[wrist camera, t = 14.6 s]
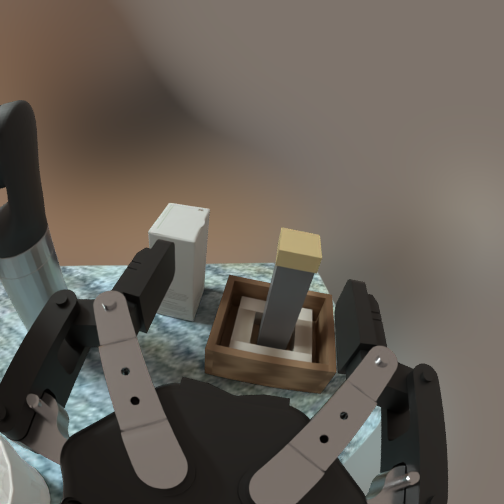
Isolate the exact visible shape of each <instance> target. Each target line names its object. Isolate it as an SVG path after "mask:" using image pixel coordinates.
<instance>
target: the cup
mask: <svg viewBox="0 0 504 504" xmlns="http://www.w3.org/2000/svg"><path fill="white" fill-rule="evenodd" d="M0 504H50V494H49V489H48V486H47V484H46V482H45V481H44V479H43V477H42V476H41V475H40V474H39V472H38V471H37V470H36V469H35V468H34V467H32V466H30V465H29V464H28V463H27V462H25V461H24V460H23V459H22V458H21V457H20V456H19V455H18V454H17V452H16V451H15V450H14V448H13V447H12V446H11V445H10V443H9V442H8V441H7V440H6V439H5V438H4V437H2V436H1V435H0Z"/></svg>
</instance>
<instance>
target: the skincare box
mask: <svg viewBox="0 0 504 504" xmlns="http://www.w3.org/2000/svg"><path fill="white" fill-rule="evenodd" d="M209 213H210V210H209V209H206V208H200V207H193V206H187V205H181V204H173V203H169V204H168V206H167V207H166V208H165V210H164V211H163V212H162V214H161V215H160V216H159V218H158V219H157V220H156V222H155V223H154V225H153V226H152V227H151V229H150V230H149V232H148V234H149V247H150V249H151V248H152V246H153V245H154V244H155V242H156V241H157V240H158V239H161V240H166V241H170V242H174V244H175V274H174V278H173V281H172V283H171V285H170V287H169V289H168V291H167V293H166V295H165V297H164V299H163V301H162V303H161V305H160V307H159V309H158V311H157V313H158V314H162V315H166V316H171V317H175V318H179V319H184V320H188V321H194V318H195V315H196V312H197V309H198V306H199V303H200V300H201V297H202V294H203V291H204V283H205V265H206V251H207V236H208V224H209Z"/></svg>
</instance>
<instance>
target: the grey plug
mask: <svg viewBox="0 0 504 504" xmlns="http://www.w3.org/2000/svg"><path fill="white" fill-rule="evenodd" d="M321 260H322V253H321V243H320V235H316V234H312V233H307V232H302V231H297V230H292V229H287V228H281V233H280V237H279V241H278V248H277V257H276V262H275V266H274V271H273V275H272V279H271V283H270V287H269V291H268V296H267V300H266V304H265V308H264V312H263V316H262V320H261V324H260V328H259V332H258V338H257V344H256V345H260V346H265V347H270V348H276V349H282V350H286V348H287V345H288V343H289V340H290V338H291V335H292V332H293V330H294V327H295V325H296V322H297V320H298V317H299V314H300V312H301V309H302V306H303V304H304V301H305V298H306V295H307V293H308V290H309V287H310V284H311V281H312V279H313V276H314V273H317V271H318V268H319V266H320V263H321Z"/></svg>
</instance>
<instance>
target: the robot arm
mask: <svg viewBox="0 0 504 504" xmlns="http://www.w3.org/2000/svg"><path fill="white" fill-rule="evenodd" d="M4 187H6V189H7V195H8V202H7V203H6V204H4V205H3V206H2V207H0V280H1V282H2V284H3V286H4V288H5V290H6V292H7V294H8V296H9V298H10V300H11V302H12V304H13V306H14V308H15V309H16V311H17V313H18V315H19V317H20V318H21V320H22V322H23V324H24V326H25V327H26V329H27V331H28V333H27V335H26V336H25V338H24V340H23V341H22V343H21V345H20V347H19V349H18V350H17V352H16V354H15V356H14V358H13V360H12V361H11V363H10V365H9V367H8V369H7V371H6V373H5V375H4V377H3V379H2V381H1V383H0V432H1V433H2V434H4V435H5V436H6V437H7V438H9V439H10V440H12V441H13V442H15V443H17V444H18V445H20V446H22V447H24V448H26V449H29V450H31V451H32V452H34V453H37V454H41V455H43V456H44V457H46V458H48V459H50V460H52V461H53V462H55V463H57V464H59V465H60V467H61V472H62V478H63V498H62V501H61V504H447V499H448V462H447V444H446V432H445V422H444V413H443V407H442V399H441V392H440V386H439V380H438V376H437V373H436V372H435V371H434V369H433V368H432V367H431V366H429V365H427V364H419V365H417V366H416V367H415V368H414V369H412V368H410V367H408V366H405V365H403V364H400V363H398V361H397V358H396V356H395V354H394V353H393V352H392V351H391V350H390V349H389V348H387V344H386V339H385V334H384V329H383V324H382V322H381V315H380V310H379V305H378V303H377V301H376V300H375V298H374V297H373V295H370V294H368V293H367V290H366V285H365V282H361V281H356V280H351V279H349V280H348V281H347V283H346V285H345V287H344V289H343V291H342V293H341V295H340V297H339V299H338V301H337V303H336V307H335V329H336V345H337V366H338V373H339V374H346V380H345V381H344V383H343V384H342V385H341V386H340V387H339V388H338V390H337V391H336V392H335V393H334V394H333V395H332V397H331V398H330V399H329V400H328V401H327V402H326V403H325V404H324V405H323V407H322V408H321V409H320V410H319V411H318V412H317V413H316V414H315V415H314V416H313V417H312V418H311V419H309V418H308V417H307V416H306V415H305V414H304V413H302V412H301V411H299V410H298V409H296V408H294V407H292V406H289V402H290V398H283V397H276V396H270V395H243V396H236V395H232V394H230V393H228V392H226V391H223V390H221V389H219V388H217V387H215V386H213V385H211V384H209V383H205V382H201V381H197V380H193V379H189V378H186V377H182V380H181V383H171V384H165V385H161V386H158V387H156V388H154V386H153V383H152V380H151V377H150V375H149V372H148V369H147V366H146V364H145V361H144V358H143V355H142V352H141V349H140V346H139V343H138V339H137V337H136V336H137V334H138V332H139V331H141V332H144V333H147V332H148V330H149V328H150V325H151V323H152V321H153V319H154V317H155V315H156V313H157V311H158V309H159V307H160V305H161V303H162V301H163V299H164V297H165V295H166V293H167V291H168V289H169V287H170V285H171V283H172V281H173V278H174V274H175V244H174V242H170V241H166V240H161V239H158V240H157V241H156V242H155V244H154V245H153V246H152V248H151V249H150V248H144V249H143V250H141V251H140V252H138V253H137V254H136V255H135V257H134V258H133V260H132V262H131V263H130V264H129V265H128V267H127V268H126V270H125V271H124V273H123V274H122V275H121V277H120V278H119V280H118V281H117V283H116V284H115V286H114V287H113V289H112V290H111V291H106V292H103V293H101V294H100V295H98V296H97V297H96V299H92V300H90V299H77V297H76V295H75V293H74V292H73V291H71V290H68V288H67V286H66V283H65V280H64V277H63V274H62V271H61V268H60V265H59V262H58V259H57V255H56V252H55V249H54V245H53V242H52V239H51V235H50V231H49V227H48V223H47V219H46V215H45V207H44V199H43V191H42V186H41V179H40V171H39V160H38V142H37V128H36V120H35V116H34V112H33V110H32V107H31V106H30V104H29V103H28V102H26V101H23V100H19V101H14V102H10V103H7V104H3V105H0V188H4ZM91 347H99V353H100V357H101V362H102V366H103V370H104V374H105V378H106V382H107V386H108V390H109V393H110V397H111V400H112V404H113V407H114V410H115V411H114V412H113V413H111V414H109V415H107V416H106V417H104V418H102V419H100V420H99V421H97V422H95V423H93V424H91V425H90V426H88V427H86V428H84V429H82V430H80V431H79V432H77V433H75V434H73V435H72V436H71V437H69V434H68V426H69V416H68V413H67V411H66V410H65V409H64V408H65V405H66V403H67V400H68V398H69V395H70V393H71V391H72V388H73V386H74V383H75V381H76V379H77V376H78V374H79V372H80V370H81V367H82V365H83V363H84V361H85V359H86V356H87V354H88V352H89V350H90V348H91ZM376 405H377V406H380V407H381V427H382V428H381V438H382V439H381V469H380V474H378V475H377V476H376V477H375V478H374V479H373V481H372V483H371V486H370V488H369V492H368V494H367V495H366V496H365V495H364V493H363V491H362V490H361V489H360V487H359V486H358V485H357V483H356V482H355V481H354V480H353V478H352V477H351V476H350V474H349V473H348V471H347V470H346V469H345V467H344V466H343V464H342V463H341V462H340V460H339V459H338V458H337V457H338V456H339V454H340V453H341V452H342V451H343V450H344V448H345V447H346V446H347V445H348V443H349V442H350V441H351V440H352V438H353V437H354V436H355V434H356V433H357V432H358V430H359V429H360V428H361V426H362V425H363V424H364V422H365V421H366V420H367V418H368V417H369V415H370V414H371V412H372V411H373V410H374V408H375V407H376Z"/></svg>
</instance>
